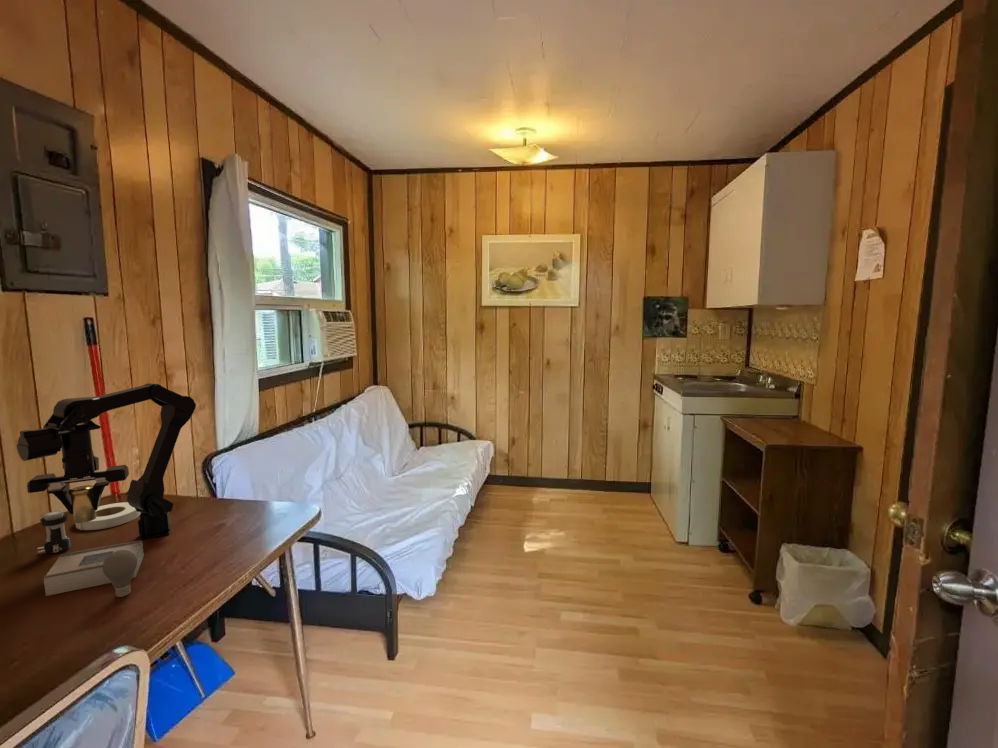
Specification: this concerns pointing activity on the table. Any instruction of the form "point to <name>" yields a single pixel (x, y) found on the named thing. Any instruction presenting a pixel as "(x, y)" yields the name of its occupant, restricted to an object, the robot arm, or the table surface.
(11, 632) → the table surface
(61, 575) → the jig
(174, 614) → the table surface
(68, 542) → the push button
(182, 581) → the table surface
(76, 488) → the door knob
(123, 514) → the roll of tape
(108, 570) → the light bulb
